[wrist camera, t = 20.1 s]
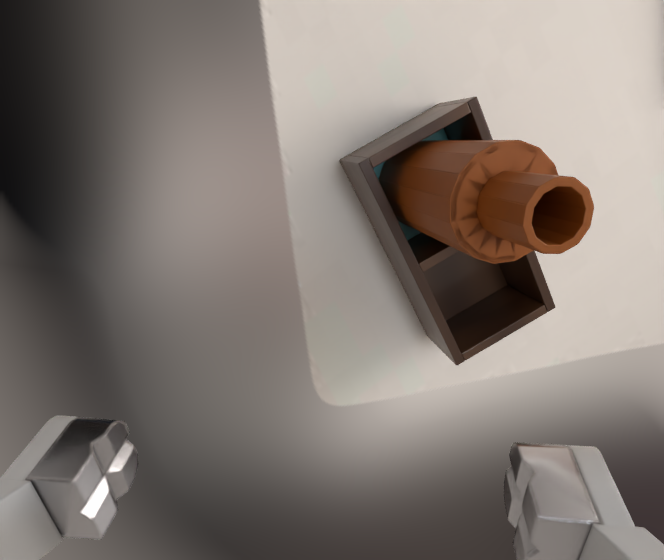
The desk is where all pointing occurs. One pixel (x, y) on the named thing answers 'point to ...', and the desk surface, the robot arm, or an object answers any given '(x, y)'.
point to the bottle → (487, 197)
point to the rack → (447, 247)
